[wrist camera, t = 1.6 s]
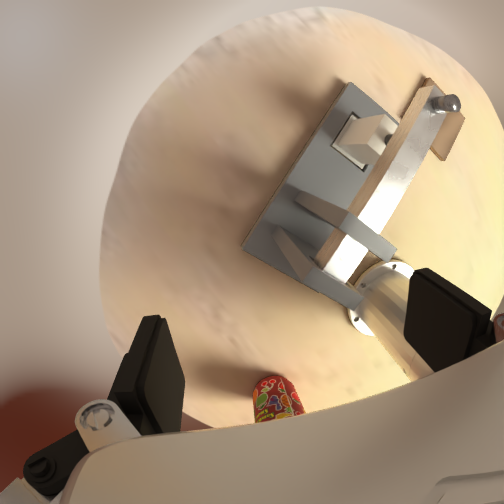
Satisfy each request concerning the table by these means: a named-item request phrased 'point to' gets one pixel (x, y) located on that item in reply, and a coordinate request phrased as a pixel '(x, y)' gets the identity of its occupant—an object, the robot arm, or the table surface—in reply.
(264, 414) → the smoothie
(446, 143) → the pad
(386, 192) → the bolt
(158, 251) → the table surface
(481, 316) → the robot arm
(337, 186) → the socket block
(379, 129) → the plug
